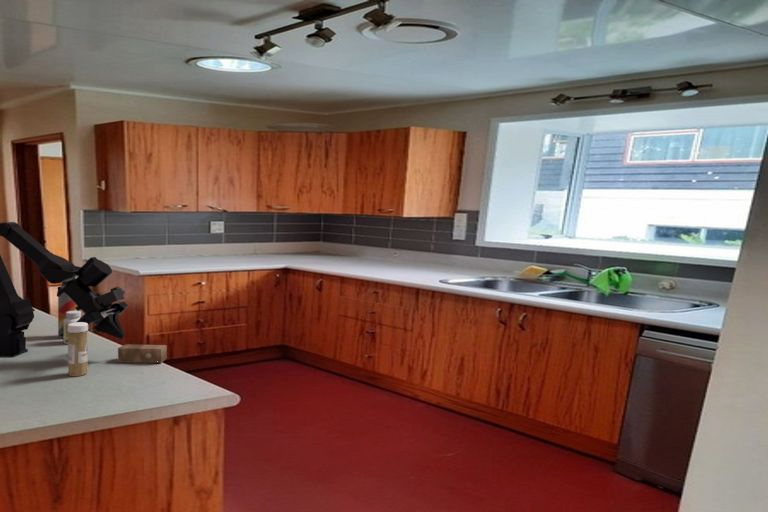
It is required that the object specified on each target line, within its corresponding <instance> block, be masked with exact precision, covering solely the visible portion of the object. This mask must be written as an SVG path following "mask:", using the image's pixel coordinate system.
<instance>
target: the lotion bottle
mask: <svg viewBox="0 0 768 512" xmlns="http://www.w3.org/2000/svg"><path fill="white" fill-rule="evenodd" d="M76 278H77V277H74V278H73V279H72V280H75V279H76ZM68 282H69V281H66V282H62V283H61V286H64V285H65V284H66V283H68ZM57 301H58V302H57V305H58V306H57V317H58V318H57V324H58V325H57V329H58V330H57V331H58V333H57V334H58V336H57V337H58V338H59V339H62V338H63V331H64V320H65V319H67V317H66V312H68V311H77V310H76V309H75V308H76V307H77V305H76V304H75V303H74V302H73V301H72V300H71V299H70V298H69V297H68V296H67V295H63V296H60V297H57Z"/></svg>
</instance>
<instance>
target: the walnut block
mask: <svg viewBox="0 0 768 512" xmlns="http://www.w3.org/2000/svg"><path fill="white" fill-rule="evenodd" d="M167 347H168V346H167V345H166V344H123V345H121V346H119V347H118V348H117V361H118V363H148V364H149V363H153V364H154V363H156V364H157V363H159V364H161V363H163V362H164V361H165V360H166V359H167V357H168V356H167V353H168V349H167ZM157 361H158V362H157Z"/></svg>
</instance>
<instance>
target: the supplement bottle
mask: <svg viewBox="0 0 768 512" xmlns="http://www.w3.org/2000/svg"><path fill="white" fill-rule="evenodd" d="M66 317H67V319H65V320H64V331H63V339H62V340H63V343H64V344H66V345H68V330H67V329H68V324H70V323H75V322H77V321H78V320H79V319H80V318H81V317H82V310H79V311H68V312H66Z"/></svg>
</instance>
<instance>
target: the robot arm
mask: <svg viewBox="0 0 768 512" xmlns="http://www.w3.org/2000/svg"><path fill="white" fill-rule="evenodd" d="M0 237H3V238H5V240H6V241H8V242H9V243H10V244H12V245H13V246H14V247H15V248H16V249H18V251H20V252H21V253H23V255H24V256H26V257H27V258H28V259H30V260H31V261H32V262H33V263H34V264H35V265H36V266H37V269H38V272H39V273H40V274H41V276H43V278H44V279H45V280H46V282H47V283H50V284H52V285H55V284H62V282H66V281H69V282H68V283H66V284H65V285H64V286H62V285H60V286H58V287H57V291H56V297H57V298H58V297H60V296H63V295H67V296H68V297H69V298H70V299H71V300H72V301H73V302H74V303H75V304H76V305H77V307H76V308H75V309H76V310H77V311H81V312H82V313H84V314H83V315H81V316H80V319H79V320H78V321H77V322H85V323H88V326H89V325H91V324H93V323H94V324H93V325H94V326H93V328H92V330H93V331H97V332H101V333H103V334H107V335H110V336H112V337H114V338H117V339H120V340H122V339H124V338H125V337H126V335H125V333H124V332H125V331H124V330H123V328H122V326H121V324H120V322H119V316H120V315H121V314H122V313H123V312H124V311H125V310H127V309H128V307H129V304H127V303H126V302H125V301H122V300H125V293H126V292H125V290H123V288H121V287H120V286H119V285H118V286H115V287H112V288H110V291H109V292H106V293H102V292H100V291H98V292H95V291H94V290H93V288H96V287H99V286H100V285H101V284H102V283H103V282H104V281H105V280H106V279H107V278H108V277H110V275H111V274H112V273H113V269H112V268H111V266H110V265H109V264H108V263H106V262H104V261H102V260H100V259H98V258H97V257H96V256H93V257H92V256H91V257H89V258H88V259H87V261H86V262H85V263H84V264H83V265H82V266H78V265H75V264H74V263H72V262H71V261H69V260H68V259H66V258H64V257H62V256H59V255H56V254H54V253H53V252H51V251H50V250H49V249H47V248H46V247H45V246H43V244H41V243H40V242H39V241H38V240H36V239H35V238H34V237H33V236H32V235H30V234H29V233H28V232H27V231H26V230H25V229H24V228H23V227H21V225H20V224H19V223H17V222H16V221H15V222H14V221H3V222H0ZM74 277H75V278H76V279H75V280H72V279H73V278H74ZM91 287H93V288H91ZM120 300H121V301H120ZM35 311H36V310H35V309H34V307H33V305H32V303H31V300H30V298H22V297H21V296H20V295H18V293H17V290H16V288H15V286H14V284H13V281H12V279H11V276H10V273H9V272H8V269H7V267H6V265H5V262H4V260H3V258H2V255H1V254H0V357H9V358H12V357H16V356H18V355H21V354H23V353H25V352H28V351H29V349H28V348H27V345H26V344H27V343H26V340H27V339H26V336H25V331H27V330H28V329H29V326H30V324H31V323H32V322H33V321H34V318H35V313H34V312H35Z"/></svg>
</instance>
